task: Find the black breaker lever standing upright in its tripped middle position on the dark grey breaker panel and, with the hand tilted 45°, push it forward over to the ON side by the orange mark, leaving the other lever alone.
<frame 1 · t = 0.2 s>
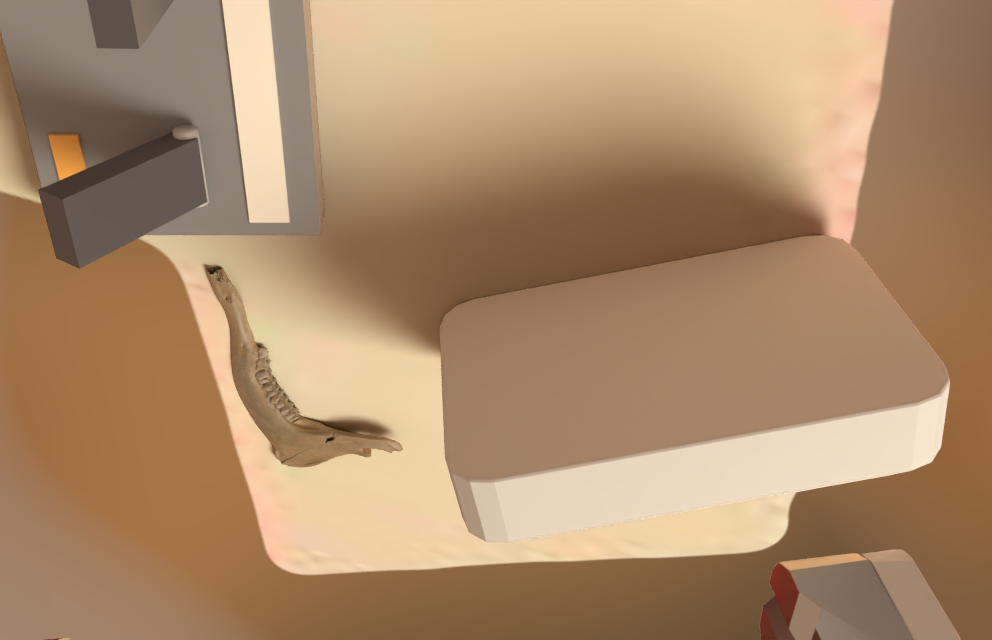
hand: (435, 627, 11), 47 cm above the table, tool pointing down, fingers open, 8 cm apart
jawbone: (310, 360, 68), on the table
light grey rounded box: (640, 295, 66), on the table
breaker panel: (171, 41, 53), on the table
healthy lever: (134, 193, 50), point 7 cm above the table, hinge at 35.0°
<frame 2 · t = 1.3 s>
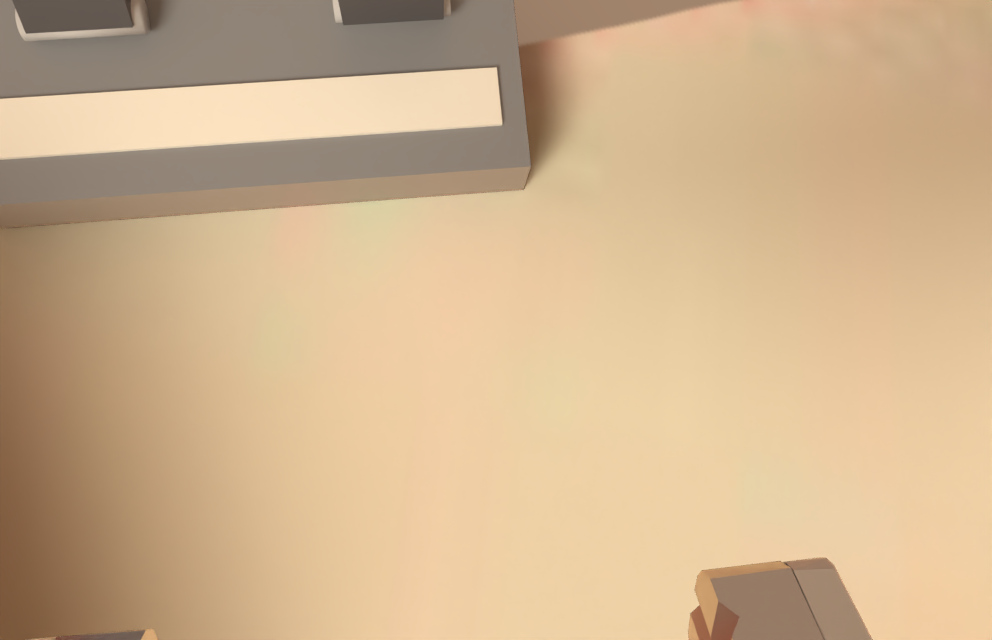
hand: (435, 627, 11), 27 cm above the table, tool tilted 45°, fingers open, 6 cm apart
breaker panel: (257, 32, 41), on the table
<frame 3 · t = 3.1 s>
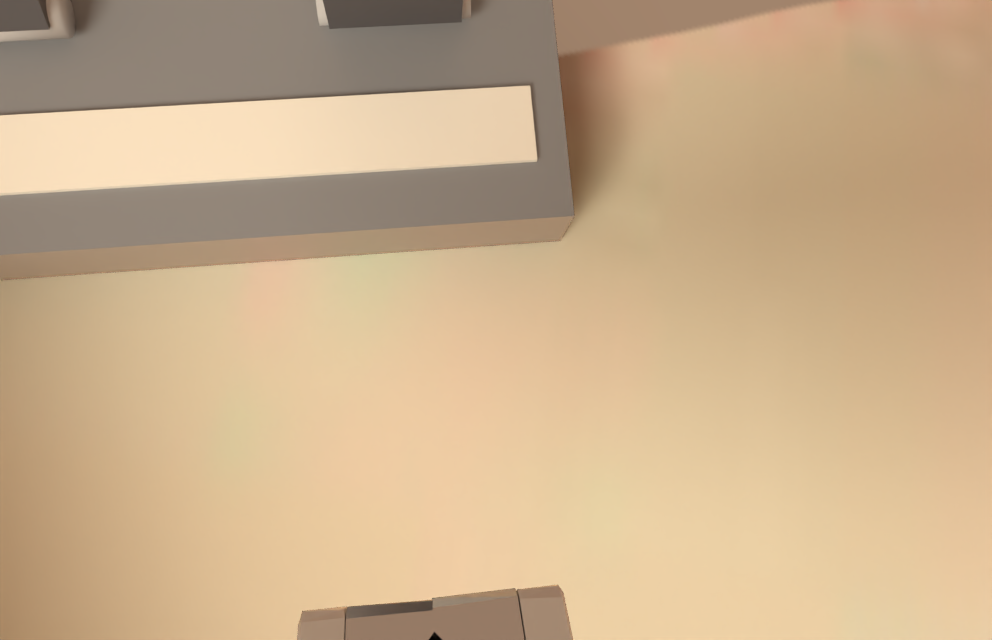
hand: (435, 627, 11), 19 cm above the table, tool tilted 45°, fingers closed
breaker panel: (222, 37, 32), on the table
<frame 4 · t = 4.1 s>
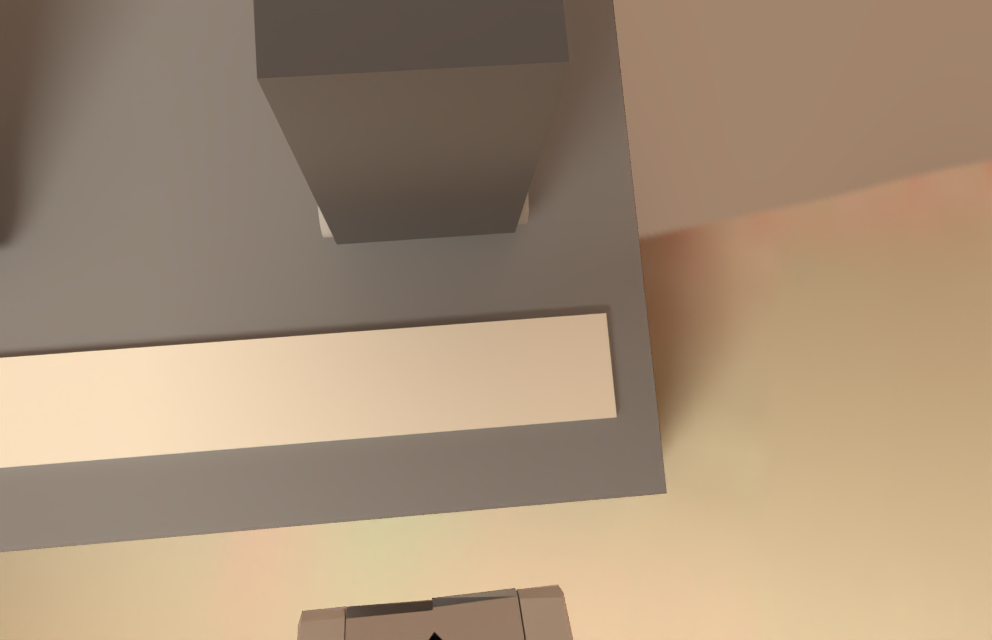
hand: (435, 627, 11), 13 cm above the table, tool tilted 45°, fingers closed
breaker panel: (198, 220, 25), on the table
tripped lever: (419, 135, 17), point 8 cm above the table, hinge at 0.0°
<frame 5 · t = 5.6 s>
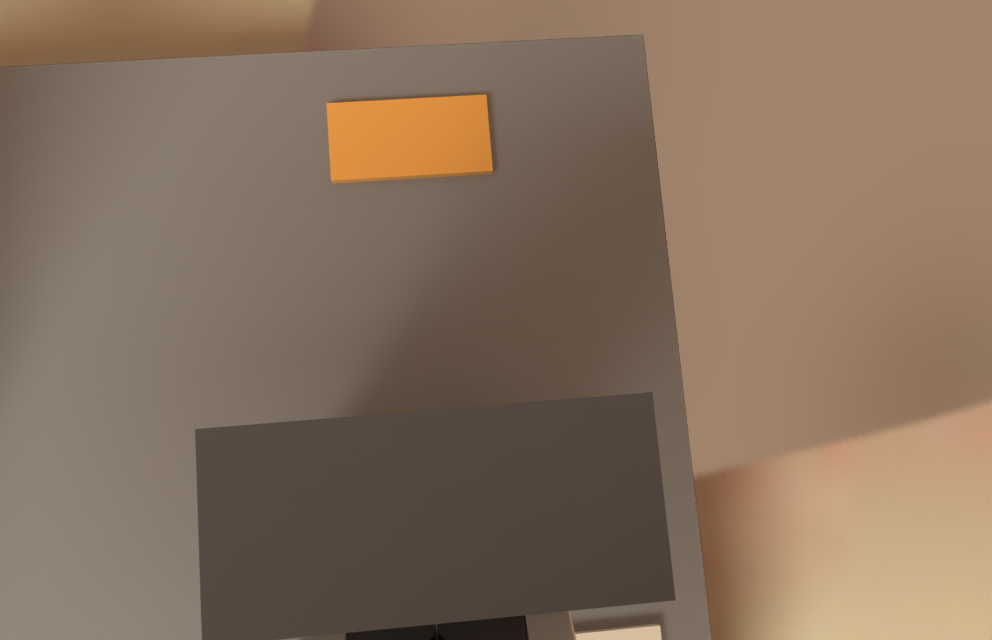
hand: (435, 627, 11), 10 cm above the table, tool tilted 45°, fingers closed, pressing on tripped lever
breaker panel: (161, 465, 20), on the table
tripped lever: (435, 500, 13), point 8 cm above the table, hinge at 1.1°, touching gripper
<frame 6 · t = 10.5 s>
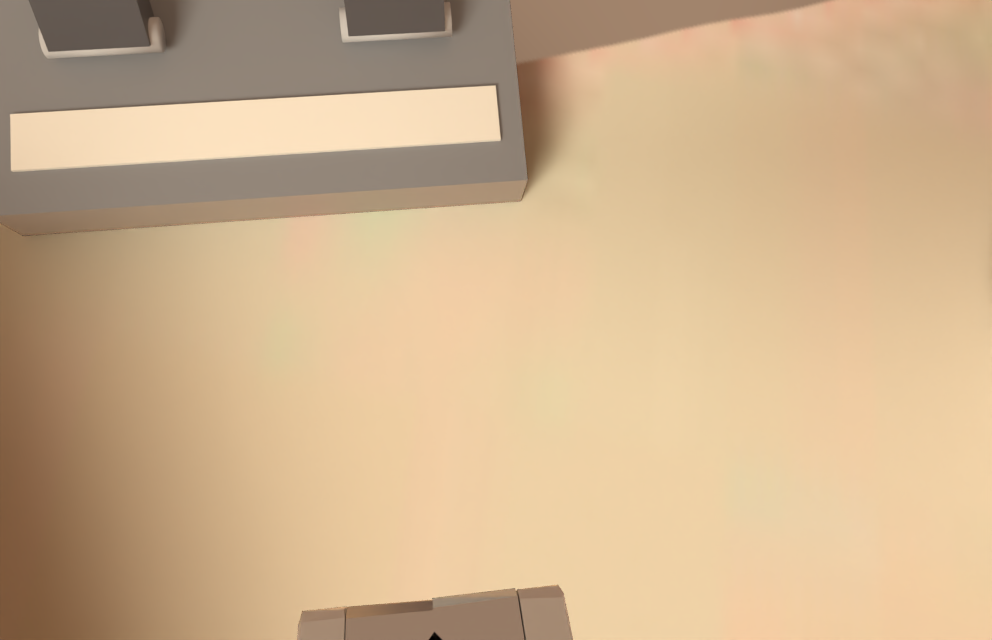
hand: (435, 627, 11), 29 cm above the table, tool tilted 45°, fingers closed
breaker panel: (267, 49, 42), on the table
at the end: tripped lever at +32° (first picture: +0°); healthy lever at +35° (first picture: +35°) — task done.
